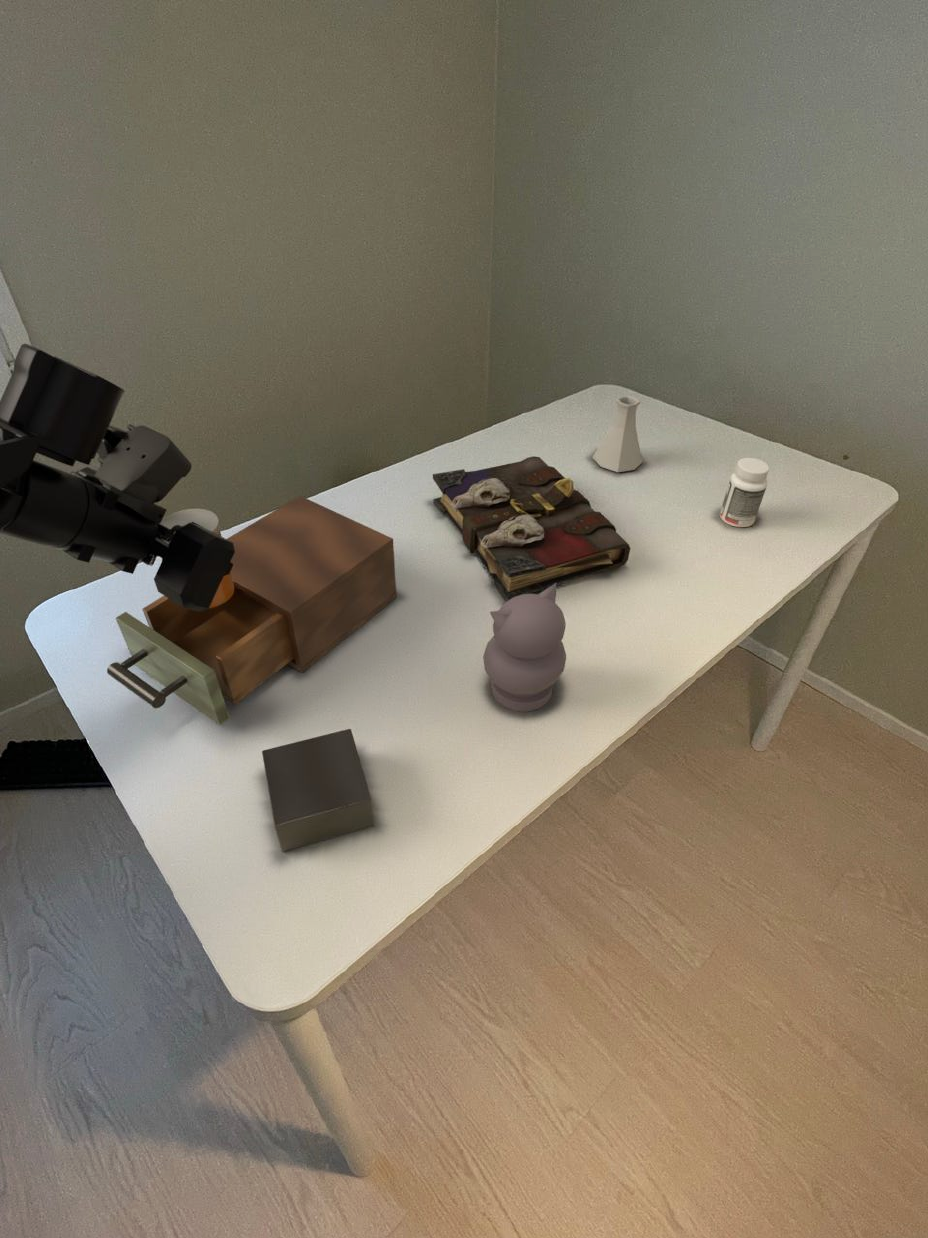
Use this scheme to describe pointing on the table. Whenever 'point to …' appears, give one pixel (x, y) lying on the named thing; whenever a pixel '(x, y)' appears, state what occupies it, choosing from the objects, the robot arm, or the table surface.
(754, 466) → the pill bottle
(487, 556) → the book
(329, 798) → the stand
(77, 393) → the robot arm
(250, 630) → the drawer
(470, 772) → the table surface
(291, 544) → the cabinet
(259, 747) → the table surface
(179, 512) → the amber jar
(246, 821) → the table surface
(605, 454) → the flask
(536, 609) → the cat figurine
